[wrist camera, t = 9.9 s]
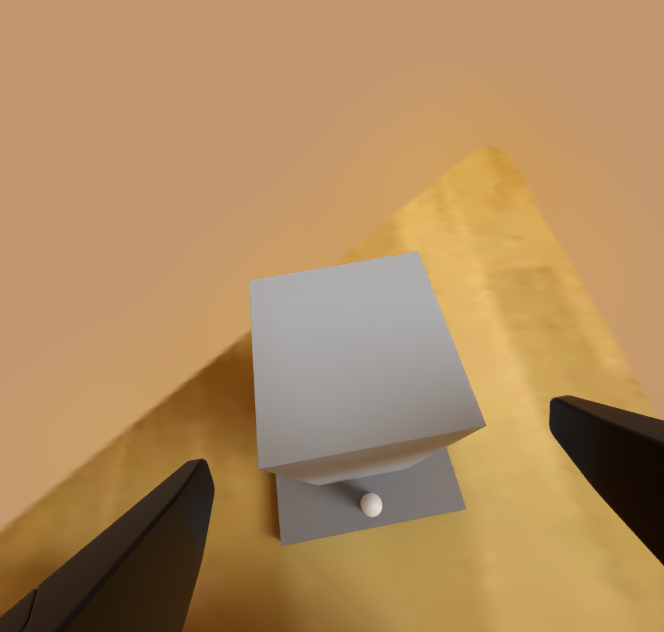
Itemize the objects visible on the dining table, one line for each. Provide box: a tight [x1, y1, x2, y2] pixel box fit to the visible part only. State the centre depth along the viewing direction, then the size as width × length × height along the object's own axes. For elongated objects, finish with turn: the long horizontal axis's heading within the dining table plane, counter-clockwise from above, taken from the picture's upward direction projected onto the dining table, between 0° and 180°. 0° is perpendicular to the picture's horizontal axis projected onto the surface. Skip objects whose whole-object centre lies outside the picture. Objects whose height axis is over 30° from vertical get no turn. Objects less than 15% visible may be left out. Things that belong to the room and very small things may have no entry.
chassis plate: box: [276, 448, 466, 546], centre depth 19 cm, size 10×10×4 cm
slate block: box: [249, 251, 486, 486], centre depth 14 cm, size 5×5×13 cm
